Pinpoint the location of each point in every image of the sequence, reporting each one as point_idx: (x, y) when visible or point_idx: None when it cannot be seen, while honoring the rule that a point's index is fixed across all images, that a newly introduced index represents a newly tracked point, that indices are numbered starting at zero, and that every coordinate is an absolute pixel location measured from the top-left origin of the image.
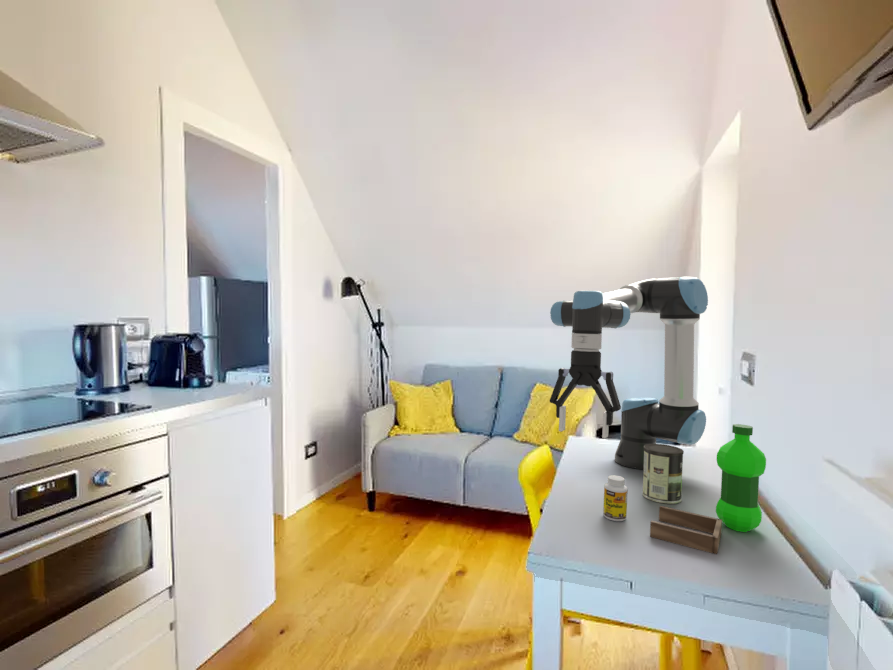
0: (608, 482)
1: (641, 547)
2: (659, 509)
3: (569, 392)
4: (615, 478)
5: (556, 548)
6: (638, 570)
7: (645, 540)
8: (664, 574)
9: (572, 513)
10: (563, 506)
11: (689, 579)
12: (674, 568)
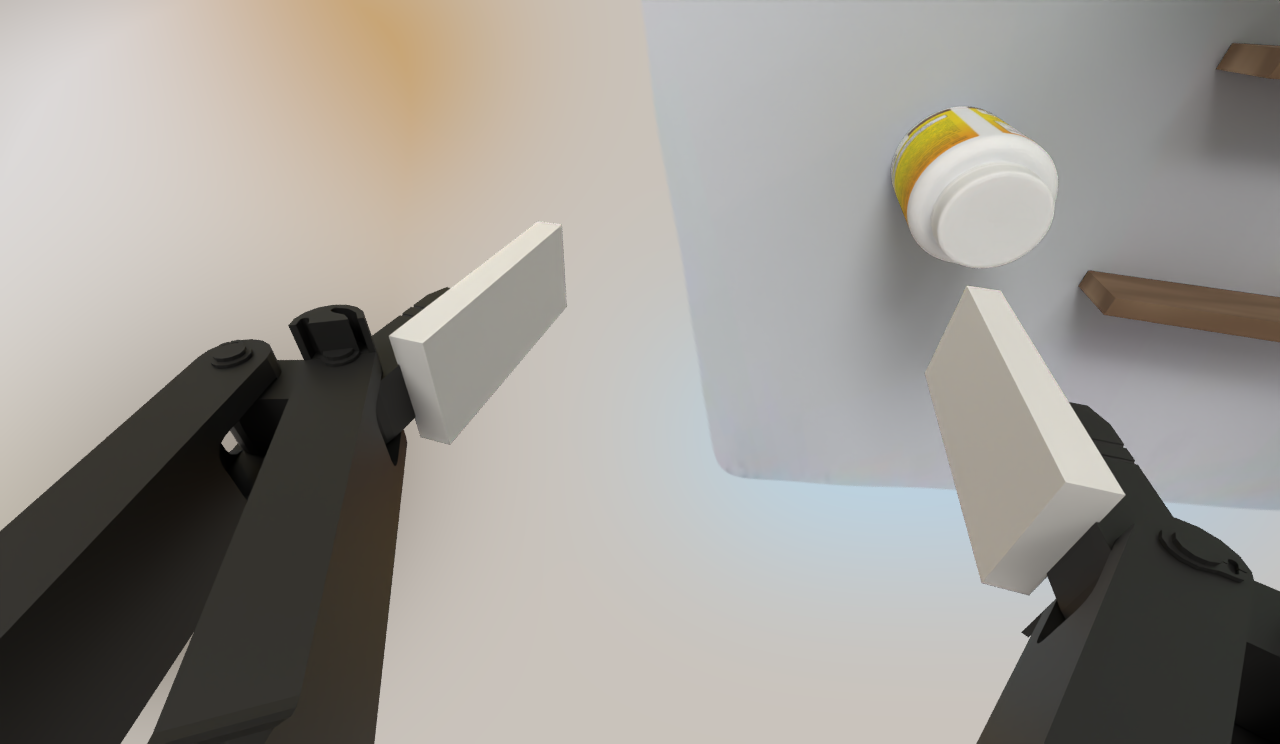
0: (934, 234)
1: None
2: (1258, 75)
3: (375, 628)
4: (985, 238)
5: (757, 447)
6: None
7: (1046, 321)
8: None
9: (759, 210)
10: (711, 155)
11: None
12: None
